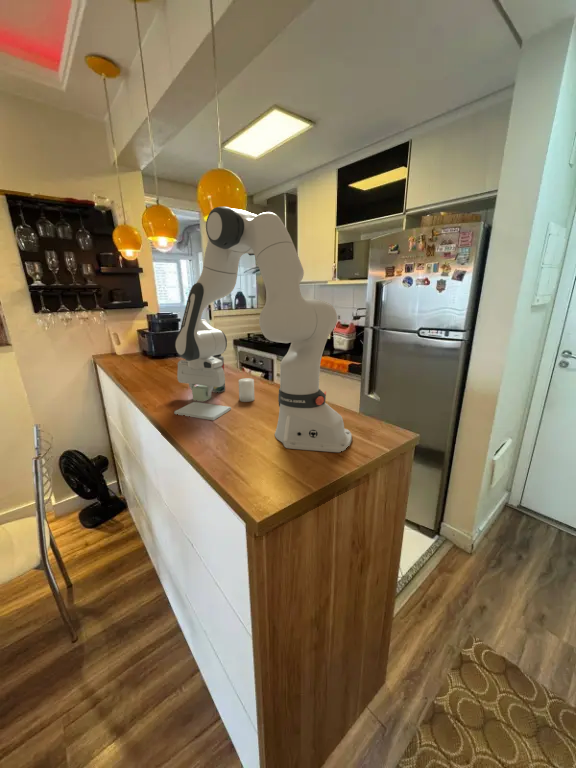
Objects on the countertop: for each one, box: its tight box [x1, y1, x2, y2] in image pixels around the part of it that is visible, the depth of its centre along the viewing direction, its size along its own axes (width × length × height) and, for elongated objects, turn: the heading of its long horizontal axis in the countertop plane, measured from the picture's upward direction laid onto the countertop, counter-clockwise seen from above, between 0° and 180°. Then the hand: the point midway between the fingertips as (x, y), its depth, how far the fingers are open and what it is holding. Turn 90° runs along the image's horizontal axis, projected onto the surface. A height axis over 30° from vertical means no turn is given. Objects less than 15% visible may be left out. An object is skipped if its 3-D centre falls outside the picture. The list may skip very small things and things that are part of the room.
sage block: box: [191, 385, 212, 402], centre depth 123 cm, size 5×5×5 cm
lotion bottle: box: [211, 354, 226, 393], centre depth 132 cm, size 6×6×20 cm
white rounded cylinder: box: [238, 377, 255, 403], centre depth 122 cm, size 6×6×8 cm
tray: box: [174, 401, 232, 421], centre depth 110 cm, size 16×11×1 cm
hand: (201, 395), depth 123 cm, fingers closed on sage block, 5 cm apart
